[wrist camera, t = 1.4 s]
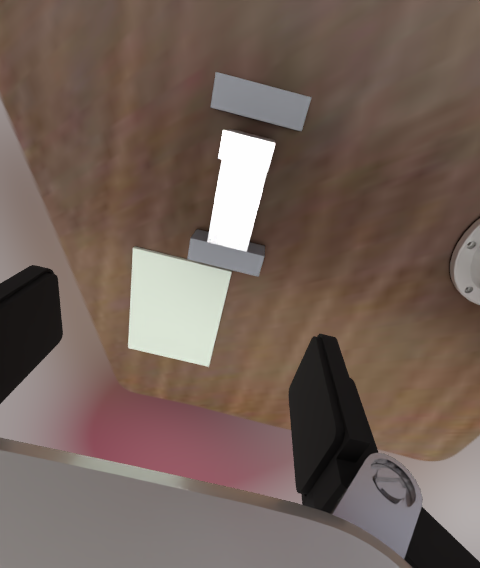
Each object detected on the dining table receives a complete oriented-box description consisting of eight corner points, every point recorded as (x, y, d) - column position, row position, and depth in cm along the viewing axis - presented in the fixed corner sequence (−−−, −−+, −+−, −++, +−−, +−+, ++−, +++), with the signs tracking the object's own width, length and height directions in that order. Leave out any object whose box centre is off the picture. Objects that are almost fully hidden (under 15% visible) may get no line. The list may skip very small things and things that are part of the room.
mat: (232, 270, 35) (231, 271, 35) (209, 364, 43) (208, 366, 42) (134, 246, 35) (133, 247, 34) (129, 345, 42) (128, 347, 42)
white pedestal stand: (273, 139, 28) (275, 143, 22) (249, 235, 33) (244, 262, 26) (233, 129, 28) (223, 129, 21) (215, 226, 33) (202, 251, 26)
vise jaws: (307, 100, 26) (311, 97, 24) (259, 265, 34) (258, 276, 32) (221, 77, 26) (215, 71, 23) (193, 248, 34) (187, 259, 31)
